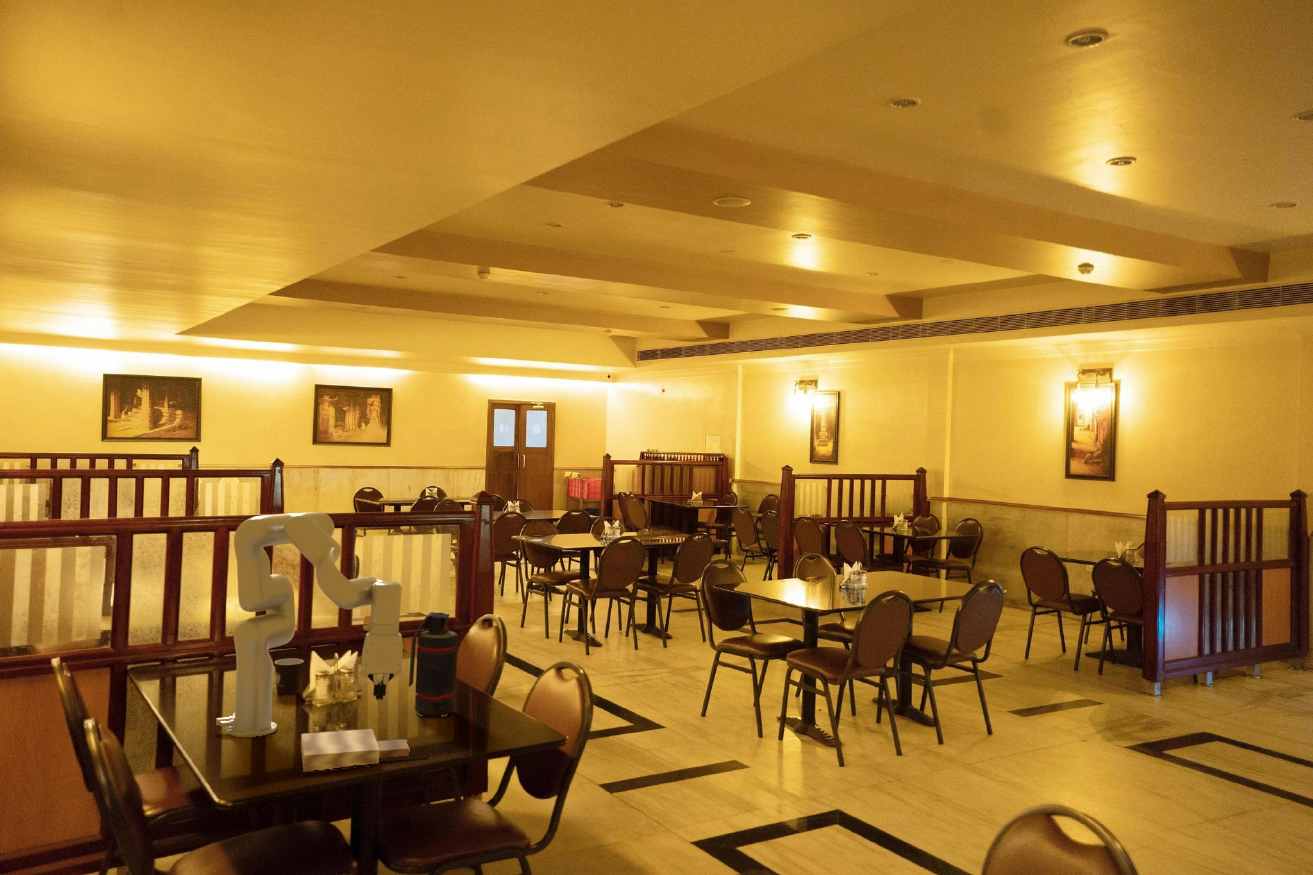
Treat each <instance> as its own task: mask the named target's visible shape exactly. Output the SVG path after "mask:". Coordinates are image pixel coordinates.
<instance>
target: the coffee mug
mask: <svg viewBox="0 0 1313 875" xmlns="http://www.w3.org/2000/svg"><path fill="white" fill-rule="evenodd" d="M304 663H305V662H304V660H303V659H300V658H282V659H278V660H275V661H274V671H275V673H274V674H275V684H276V694H277V696H281V695H291V696H295V694H296V695H298V694H299V692H300V685H301V679H302V674H303V673H302V672H303V666H304Z"/></svg>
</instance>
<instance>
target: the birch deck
mask: <svg viewBox="0 0 1313 875" xmlns="http://www.w3.org/2000/svg"><path fill="white" fill-rule="evenodd" d="M300 738H301V739H300V740H301V741H300V753H301V754H302V755H301V761H302V763H303V764H302V769H303V770H302V772H303V773H305V772H315V771H314V770H319V771H326V770H325V769H330V770H334V769H333V768H340V767H349V766H353V765H366V764H367V765H368V764H375V763H376V764H377V763H379V751H380V749H379V747H378V744H377V741H378V740H377V738H376V736H375V733H374V729H373V728H366V729H365V728H364V729H352V730H338V731H335V730H334V731H323V732H321V731H320V732H310V733H301V737H300ZM379 764H380V763H379Z"/></svg>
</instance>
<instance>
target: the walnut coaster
mask: <svg viewBox="0 0 1313 875" xmlns="http://www.w3.org/2000/svg"><path fill="white" fill-rule="evenodd" d="M376 741H377V744H378V747H379V749H380V751H379V758H386V757H388V758H389V757H397V756H405V755H406V756H408V755H409V752H410V748H409V746H408V744H407V741H408V740H406V738H404V739H403V738H401V739H389V740H376Z"/></svg>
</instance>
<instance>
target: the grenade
mask: <svg viewBox="0 0 1313 875" xmlns="http://www.w3.org/2000/svg"><path fill="white" fill-rule="evenodd" d="M449 618H450V614H449V613H445V612H435V611H432V612H430V613H428V614H427V615H426V616H425V618H423V621H421V623H420V624H419V626H418V628H417V629H416V631H415V633H414V635H413V637H412V639H411V644H410V645H411V646H410V658H409V659H410V660H409V674H408V675H409V676H408V687H411V686H412V685H413V684H414V678H415V693H416V694H415V698H414V699H415V700H414V701H415V702H414V710H415V712H416V713H417V714H418V713H419V714H420V715H424V716H440V715H446V714H448V713H449V714H450V713H451V712H454V711H455V710H456V709H455V708H456V692H457V691H456V690H457V671H458V669H457V668H458V645H459V644H458V643H459V634H458V633H457V632H455V631H451V630H450V629H449V628H448V626H447V625H448V623H449V622H448V621H449ZM422 629H424V631H422V632H421V630H422ZM425 630H426V631H425ZM416 644H417V650H416ZM416 651H417V652H416ZM415 659H416V660H415ZM415 662H416V667H415ZM415 668H416V673H415ZM414 673H415V674H414ZM414 675H415V677H414Z"/></svg>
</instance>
